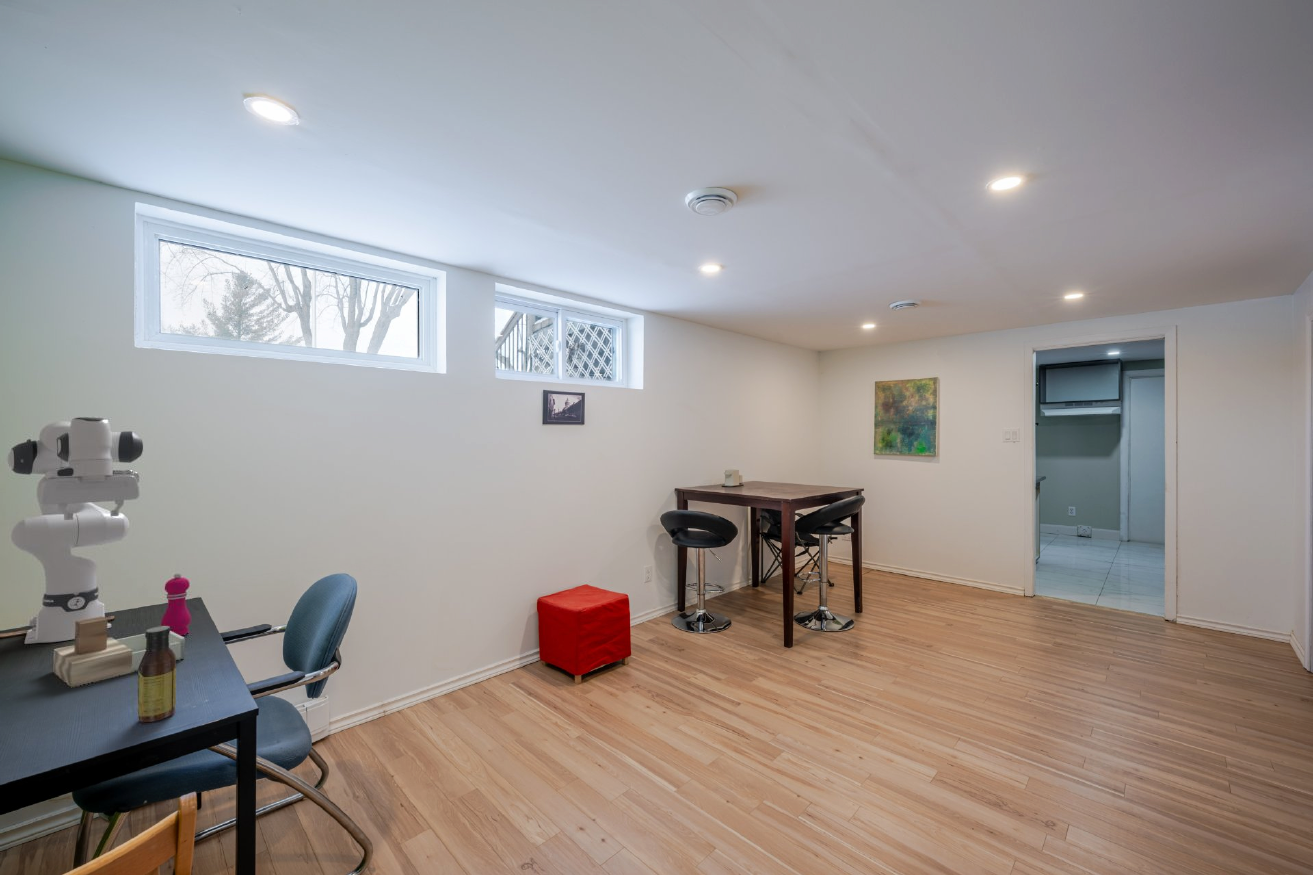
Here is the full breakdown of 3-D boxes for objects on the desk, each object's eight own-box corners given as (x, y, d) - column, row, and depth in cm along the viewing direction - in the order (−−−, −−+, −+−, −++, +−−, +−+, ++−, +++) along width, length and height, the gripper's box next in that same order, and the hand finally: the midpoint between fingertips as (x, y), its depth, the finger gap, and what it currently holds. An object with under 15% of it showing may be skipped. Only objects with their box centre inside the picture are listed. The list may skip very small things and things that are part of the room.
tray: (110, 658, 152) (111, 637, 152) (161, 646, 161) (161, 626, 161) (131, 672, 142) (132, 650, 142) (184, 659, 151) (184, 637, 152)
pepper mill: (172, 640, 166) (174, 576, 167) (154, 638, 168) (156, 574, 168) (196, 632, 174) (198, 571, 174) (178, 630, 175) (180, 569, 176)
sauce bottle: (153, 710, 121) (156, 623, 122) (183, 710, 122) (186, 622, 123) (127, 725, 115) (131, 633, 116) (158, 724, 115) (162, 632, 116)
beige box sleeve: (53, 671, 142) (53, 649, 142) (110, 658, 152) (111, 637, 152) (71, 688, 133) (72, 663, 133) (131, 672, 142) (132, 650, 142)
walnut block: (74, 651, 141) (75, 620, 141) (100, 645, 145) (101, 616, 146) (79, 655, 138) (80, 624, 139) (106, 649, 143) (107, 619, 143)
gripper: (135, 470, 167) (136, 514, 166) (36, 473, 149) (37, 522, 148) (142, 468, 164) (143, 513, 163) (43, 471, 146) (43, 521, 145)
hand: (92, 518), depth 155 cm, fingers open, 8 cm apart
